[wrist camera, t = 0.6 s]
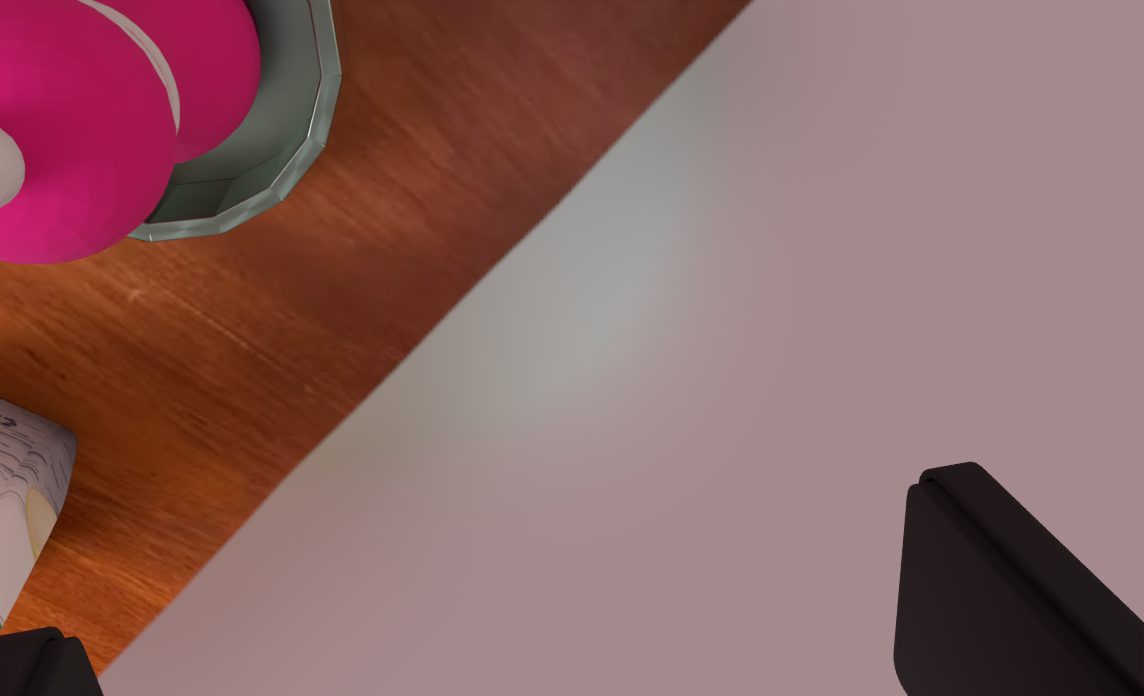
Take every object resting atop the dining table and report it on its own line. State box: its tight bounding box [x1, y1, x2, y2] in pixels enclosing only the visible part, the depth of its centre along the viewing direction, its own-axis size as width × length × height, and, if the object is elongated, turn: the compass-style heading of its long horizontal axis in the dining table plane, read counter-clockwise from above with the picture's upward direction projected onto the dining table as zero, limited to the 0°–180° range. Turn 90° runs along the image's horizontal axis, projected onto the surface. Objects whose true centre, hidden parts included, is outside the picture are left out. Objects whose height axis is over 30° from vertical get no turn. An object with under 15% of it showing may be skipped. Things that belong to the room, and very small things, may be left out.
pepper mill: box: [0, 0, 261, 264], centre depth 26 cm, size 7×7×20 cm
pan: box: [126, 0, 347, 242], centre depth 33 cm, size 12×12×5 cm
